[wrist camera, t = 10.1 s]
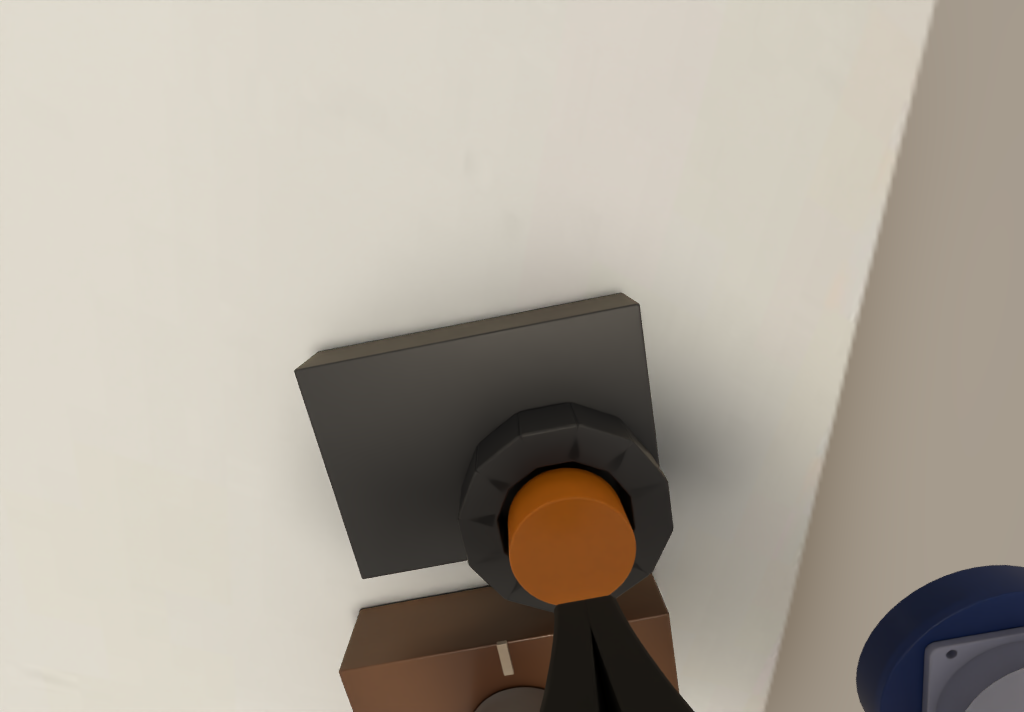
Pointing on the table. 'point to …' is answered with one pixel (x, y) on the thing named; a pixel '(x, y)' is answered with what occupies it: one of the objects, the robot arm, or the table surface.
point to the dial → (514, 701)
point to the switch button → (569, 537)
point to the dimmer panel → (472, 648)
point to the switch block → (486, 434)
